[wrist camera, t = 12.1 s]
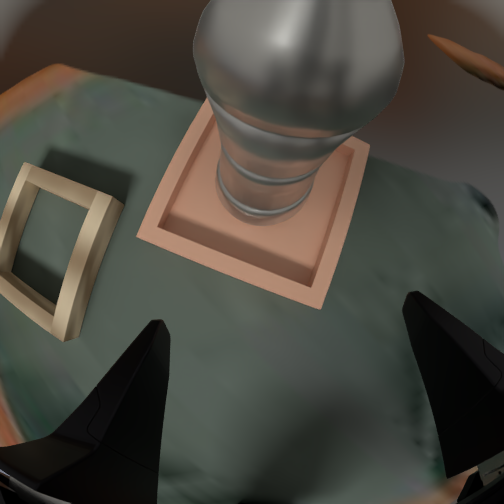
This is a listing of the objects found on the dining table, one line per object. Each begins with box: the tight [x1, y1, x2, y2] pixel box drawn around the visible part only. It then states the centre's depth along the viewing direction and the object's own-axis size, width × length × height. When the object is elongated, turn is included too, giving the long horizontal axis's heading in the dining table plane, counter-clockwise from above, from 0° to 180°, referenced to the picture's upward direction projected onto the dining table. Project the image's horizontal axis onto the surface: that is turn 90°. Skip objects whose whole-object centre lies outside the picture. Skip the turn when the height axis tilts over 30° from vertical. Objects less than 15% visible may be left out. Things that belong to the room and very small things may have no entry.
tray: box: [136, 98, 370, 310], centre depth 21 cm, size 14×14×2 cm
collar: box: [0, 162, 124, 342], centre depth 19 cm, size 12×12×2 cm
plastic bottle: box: [193, 0, 404, 226], centre depth 11 cm, size 6×7×20 cm
